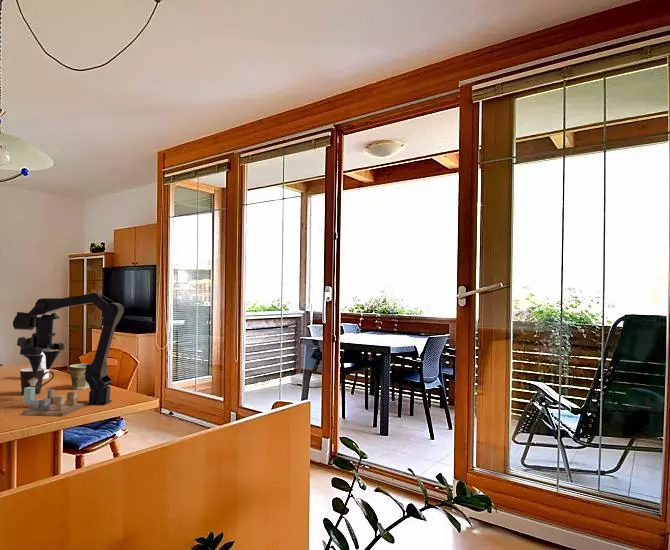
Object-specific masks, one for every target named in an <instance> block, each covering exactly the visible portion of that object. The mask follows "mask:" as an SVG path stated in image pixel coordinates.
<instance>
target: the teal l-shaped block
mask: <svg viewBox="0 0 670 550" xmlns="http://www.w3.org/2000/svg"><path fill="white" fill-rule="evenodd" d="M35 397H36V395H35V387H27V388H24V395H23V401H22V402H23V404H28V405H29V404H35V405H39V400H42V399H43V398H42V399H41V398H35Z"/></svg>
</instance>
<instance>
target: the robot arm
mask: <svg viewBox="0 0 670 550" xmlns="http://www.w3.org/2000/svg"><path fill="white" fill-rule="evenodd" d="M88 304H93V305H94V306H96V307H97V309H99V310H100V311H102V329H101V332H100V336H99V340H98V344H97V347H96V352H95V355H94V358H93V361H92V362H89V363H86V364H87V365H86V371H85V373H84V375H85V380H86V382H87V383H88V384H89V392H88V393H89V395H88V402H87V405H92V404H93V405H96V406H98V405H99V406H102V405H103V406H104V405H107V404H110V403H111V402H112V401H113V400H112V399H111V385H112V383H113V379H112V378H111V377H110V376H109V375H108V374H107V373H108V363H107V359H108V355H109V352H110V348H111V344H112V340H113V337H114V334H115V330H116V326H117V325H118V324H119V322H120V320H121V318H122V316H123V314H124V312H125V308H124V306H123V304H121V303H119V302H115V301H114V300H112V299H110V298H108V297H106V296H104V295H103V294H102V293H100V292H91V293H88V294H87V293H86V294H81V295H80V294H79V295H74V296H68V297H62V298H61V297H58V298H57V297H55V298H54V297H45V298H44V297H43V298H41V297H40V298H39V299H37V300H36V302H35V303H34V306H33V307H32V308H31V310H30V311H28V312H26V311H25V312H24V311H17V312H16V315H15V316H14V319H13V321H12V327H13V328H14V330H19V331H21V330H25V331H32V330H34V329H35V332H33V333H32V334H31V337H28V338H26V336H20V337H18V338H17V340H16V341H17V342H16V346H18V347H19V348H20V349H19V355H21V356H23V357H25V358H27V359H28V361H29V363H30V368H31V367H32V370H33V373H37V371H38V368H39V365H40V363H41V360H42V357H43V355H40V354H41V353H42V352H43V353H44V354H45V357H46V369H49V370H50V369H51V367H52V365H53V364H54V363H55V361H56V359H57V357H58V356H59V355H60V353H61V351H63V350H65V344H64V343H63V342H55V341H54V342H53V337H54V336H56V332H54V321H55V320H60V318H61V317H60V316H59V315H57V313H56V312H57V311H61V310H62V309H65V308H69V307H75V306H76V307H77V306H81V305H82V306H83V305H88ZM49 313H51V314H49Z"/></svg>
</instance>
